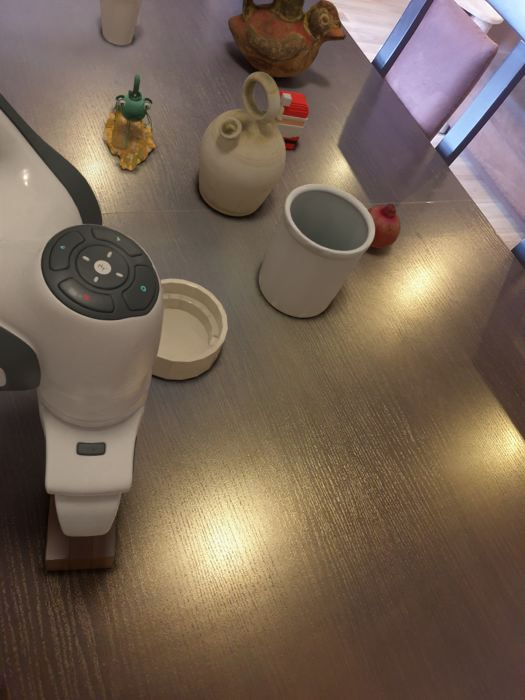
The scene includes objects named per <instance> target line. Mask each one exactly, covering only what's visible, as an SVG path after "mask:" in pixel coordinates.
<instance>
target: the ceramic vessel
mask: <svg viewBox="0 0 525 700" xmlns="http://www.w3.org/2000/svg"><path fill="white" fill-rule="evenodd" d="M305 1H306V0H272V2H270V3H260V4H259V3H258V4H257V3H255V1H254V0H242V5H241V6H242V9H241V11H242V12H241V13H239V14H237V15H234V16H232V17H230V18H229V19H228V20H227V25H228V28H229V31H230V34H231V36H232V38H233V40H234V42H235V44H236V45H237V47H238V49H239V50H240V52H241V53H242V56H244V57H245V59H246V60H247V62H248V63H249V64H250V65H251V66H252V67H253V68H254V69H255V70H257V72H264V73H267V74H268V75H270V76H271V77H272V78H290V77H295V76H297V75H300V74H302V73H303V72H304V71H306V70H308V69H309V68H311V66H312V64H313V63H314V61H315V60H316V58H317V57H318V54H319V51H320V49H321V47H322V45H323V44H324V43H325V42H337V41H344V40H345V38H346V37H347V33H346V32H345V30H344V29H343V28H342V21H341V19H340V15H339V11H338V8H337V7H336V6H335V4H334V3H333V2H332V1H329V0H319V1H318V2H316V3H314V4H313V5H311V7H309V9H308V10H307V11H306V12H304V4H305Z"/></svg>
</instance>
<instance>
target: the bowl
mask: <svg viewBox="0 0 525 700" xmlns="http://www.w3.org/2000/svg"><path fill="white" fill-rule="evenodd" d="M160 281H161V285H162V290H163V301H164V315H163V326H162V334H161V340H160V345H159V350H158V354H157V357H156V360H155V362H154V365H153V367H152V376H156V377H158V378H162V379H164V380H174V381H176V380H178V381H184V380H187V379H192V378H196V377H198V376H200V375H201V374H203V373H204V372H206V371H208V370H210V368H211V367H212V365H213V364H214V362H215V361H216V360H217V359H218V356H219V354H220V352H221V350H222V347H223V345H224V342H225V340H226V336H227V334H228V330H229V327H228V326H229V325H228V324H229V323H228V315H227V313H226V311H225V308H224V307H223V304H222V303H221V302H220V301H219V300H218V298H217V297H216V296H215V295H214V294H213V293H212V292H211V291H209V290H208V289H206V288H205V287H203V286H201V285H200V284H198V283H195V282H192V281H191V280H190V281H189V280H187V279H181V278H163V279H160Z"/></svg>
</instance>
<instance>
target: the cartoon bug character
mask: <svg viewBox="0 0 525 700" xmlns="http://www.w3.org/2000/svg"><path fill="white" fill-rule="evenodd" d="M140 85H141V77H140V75H139V74H135V76H134V79H133V89H132V90H131V89H128V92H127V93H125V94H119V95H117V96H115V101H116V102H115V105H114V107H113V110H114V112H110V113H109V118H107V120H106V122H105V123H104V128H103V129H104V131H103V140H104V141H105V142H106V144H107V146H108V147H109V148H108V149H109V150H110V153H111V154H112V155H116V154H117V156H119V158H120V159H119V165H120V166H121V169H122V170H125V169H127V170H129V171H134V170H135V169H136V168H137V165H140V163H142V162H145V160H146V158H148V155H149V153H151V151H152V150H153V149H155V148H156V144H155V142H154V140H153V135H154V134H153V132H154V131H153V123H152V122H153V121H152V118H151V116H150V114H149V113H148V111H150V109H151V107H152V105H153V100H151V98H149V97H143V94H142V92H141V91H140V90H139V89H140ZM145 117H147V121H148V122H147V124H146V121H145V120H144V118H145Z"/></svg>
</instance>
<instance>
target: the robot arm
mask: <svg viewBox="0 0 525 700" xmlns="http://www.w3.org/2000/svg"><path fill="white" fill-rule="evenodd" d="M160 280H161V277H160V275H159V272H158V270H157V268H156V266H155V263H154V261H153V260H152V258H151V257H150V255H149V254H148V253H147V252H146V250H145V249H144V248H143V247H142V246H141V245H140V244H139V243H138V242H137V241H136V240H135V239H133V238H132V237H130V236H129V235H127V234H126V233H124V232H122V231H120V230H118V229H115V228H112V227H109V226H105V225H103V214H102V210H101V207H100V204H99V201H98V198H97V196H96V194H95V192H94V190H93V188H92V186H91V185H90V183H89V182H88V179H86V177H85V176H84V174H82V173H81V172H80V170H79V169H78V168H76V166H74V164H72V163H71V162H70V161H69V160H68V159H67V158H66V157H64V156H63V155H62V154H60V152H58V151H57V150H56V149H55V148H53V147H52V145H50V144H48V142H46V141H45V140H44V139H43V138H42V137H41V136H40V135H39V134H38V133H37V132H36V131H35V130H34V129H33V128H32V127H31V126H30V125H29V124H28V123H27V122H26V120H25V119H24V118H23V117H22V116H21V115H20V114H19V112H18V111H17V110H16V109H15V108H14V107H13V106H12V105H11V104H10V102H9V101H8V100H7V99H6V97H4V95H2V93H1V92H0V392H22V391H31V390H34V389H36V394H37V405H38V413H39V420H40V423H41V426H42V430H43V434H44V436H43V440H44V487H45V491H46V493H47V494H49V495H50V494H55V504H56V510H57V515H58V519H59V523H60V526H61V529H62V531H63V533H64V534H65V535H67V536H97V535H103V534H106V533H107V532H108V531H109V530H110V528H111V525H112V523H113V521H114V518H115V516H116V517H117V513H118V510H119V506H120V503H121V497H122V494H124V493H128V492H129V491H130V490H131V487H132V484H133V476H134V470H135V458H136V457H135V456H136V446H137V440H138V432H139V429H140V427H141V424H142V421H143V418H144V415H145V410H146V403H147V399H148V394H149V390H150V386H151V382H152V376H153V375H152V367H153V365H154V362H155V360H156V357H157V354H158V350H159V345H160V340H161V334H162V326H163V315H164V301H163V290H162V285H161V281H160Z"/></svg>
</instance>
